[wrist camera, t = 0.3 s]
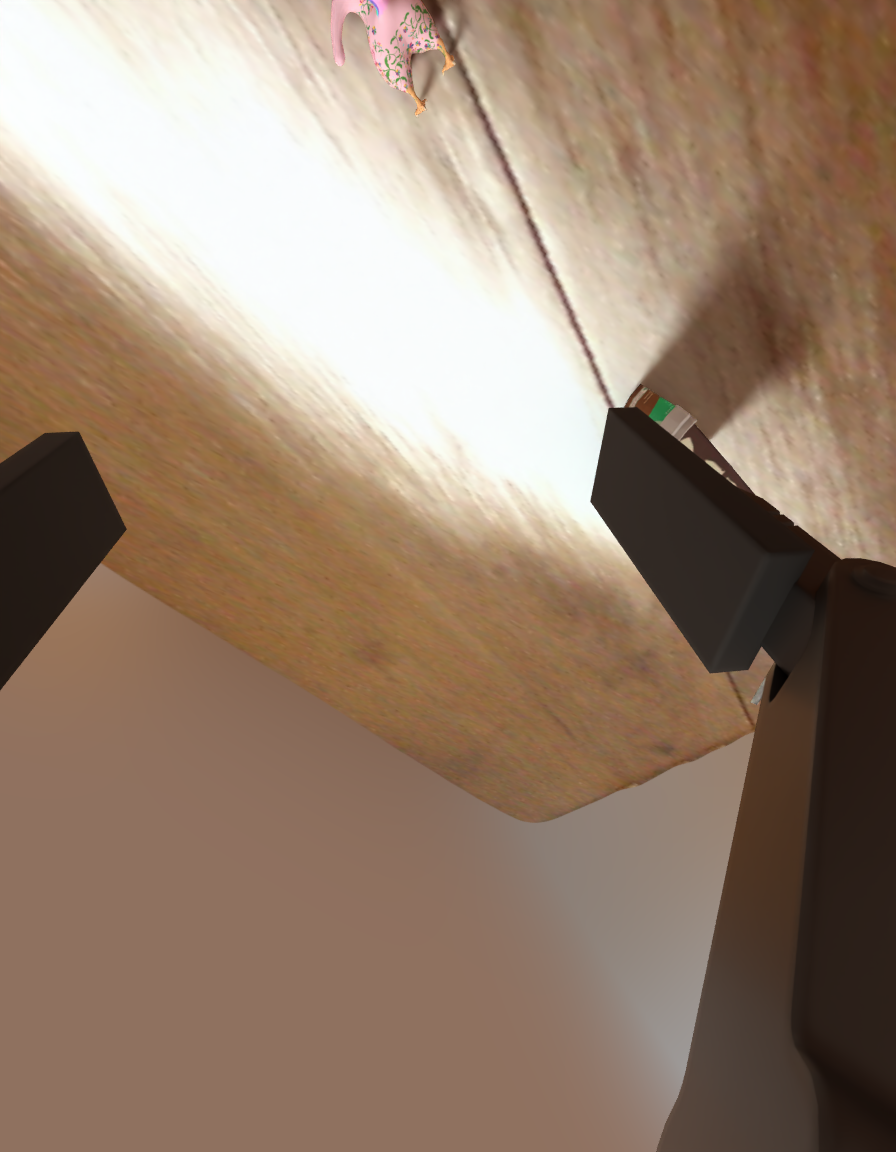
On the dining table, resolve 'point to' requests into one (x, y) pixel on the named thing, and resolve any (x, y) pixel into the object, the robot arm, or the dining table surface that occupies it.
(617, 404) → the dining table surface
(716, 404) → the dining table surface
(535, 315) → the dining table surface
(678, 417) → the food container
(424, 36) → the rabbit figure
